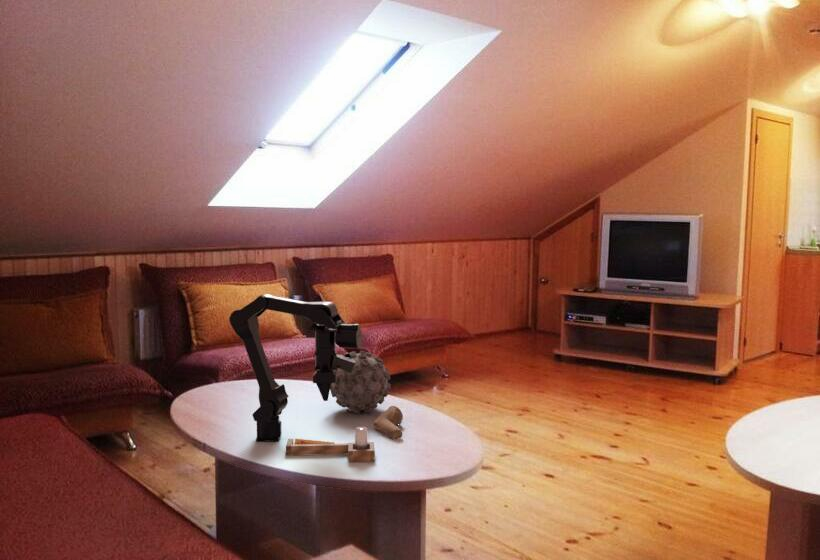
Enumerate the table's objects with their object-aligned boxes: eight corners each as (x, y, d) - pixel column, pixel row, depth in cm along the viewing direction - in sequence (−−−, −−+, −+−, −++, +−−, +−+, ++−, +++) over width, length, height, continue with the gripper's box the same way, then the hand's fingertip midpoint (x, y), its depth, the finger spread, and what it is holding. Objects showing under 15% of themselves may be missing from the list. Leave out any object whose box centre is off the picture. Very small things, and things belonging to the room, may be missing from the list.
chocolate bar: (332, 451, 199) (332, 444, 198) (293, 447, 202) (293, 440, 202) (336, 448, 201) (336, 441, 201) (297, 444, 204) (297, 437, 204)
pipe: (390, 426, 206) (419, 416, 211) (365, 411, 220) (393, 402, 225) (393, 446, 207) (422, 436, 212) (368, 431, 221) (396, 421, 226)
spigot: (355, 459, 191) (355, 430, 190) (355, 455, 194) (355, 426, 194) (367, 459, 191) (367, 430, 191) (366, 455, 195) (367, 426, 194)
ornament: (378, 401, 250) (378, 344, 249) (397, 416, 232) (398, 356, 230) (323, 406, 244) (323, 348, 242) (338, 422, 225) (338, 360, 223)
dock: (283, 463, 188) (283, 452, 188) (288, 447, 201) (287, 437, 200) (374, 461, 190) (374, 450, 189) (373, 445, 203) (373, 435, 202)
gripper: (353, 352, 193) (354, 409, 195) (353, 340, 212) (354, 392, 213) (312, 353, 192) (313, 409, 194) (316, 340, 211) (316, 392, 212)
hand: (325, 400), depth 203 cm, fingers closed
